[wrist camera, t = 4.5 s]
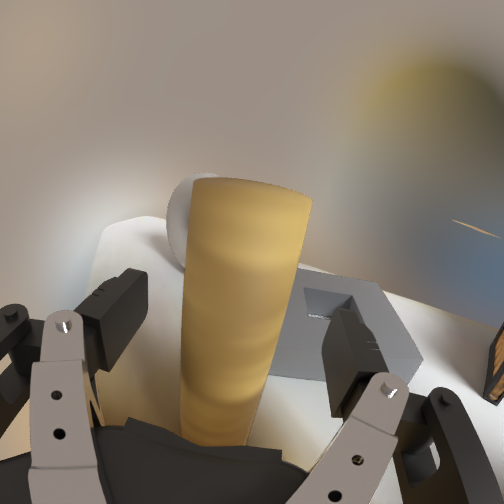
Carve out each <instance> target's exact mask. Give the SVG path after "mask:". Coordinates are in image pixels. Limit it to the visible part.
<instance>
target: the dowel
mask: <svg viewBox="0 0 504 504" xmlns="http://www.w3.org/2000/svg"><path fill="white" fill-rule="evenodd" d="M312 202H313V201H312V199H311V198H309V197H308V196H306V195H304V194H302V193H299V192H297V191H294V190H291V189H287V188H284V187H280V186H276V185H272V184H267V183H263V182H257V181H251V180H244V179H236V178H222V177H207V178H199V179H195V180H194V181H193V187H192V196H191V205H190V214H189V224H188V234H187V246H186V258H185V271H184V287H183V305H182V328H181V374H180V393H181V437H182V438H184V439H186V440H188V441H190V442H192V443H195V444H197V445H199V446H241V445H244V446H245V444H246V441H247V439H248V436H249V433H250V430H251V427H252V424H253V421H254V417H255V414H256V411H257V408H258V405H259V402H260V399H261V396H262V392H263V389H264V386H265V383H266V379H267V376H268V373H269V369H270V366H271V363H272V359H273V356H274V352H275V349H276V345H277V342H278V338H279V335H280V331H281V328H282V324H283V320H284V317H285V313H286V309H287V306H288V302H289V298H290V294H291V290H292V286H293V283H294V279H295V275H296V271H297V267H298V263H299V258H300V254H301V250H302V246H303V242H304V238H305V233H306V229H307V225H308V220H309V216H310V211H311V207H312Z"/></svg>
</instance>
